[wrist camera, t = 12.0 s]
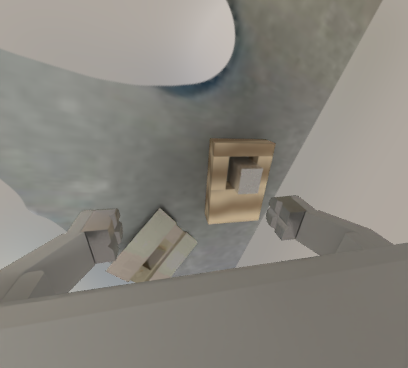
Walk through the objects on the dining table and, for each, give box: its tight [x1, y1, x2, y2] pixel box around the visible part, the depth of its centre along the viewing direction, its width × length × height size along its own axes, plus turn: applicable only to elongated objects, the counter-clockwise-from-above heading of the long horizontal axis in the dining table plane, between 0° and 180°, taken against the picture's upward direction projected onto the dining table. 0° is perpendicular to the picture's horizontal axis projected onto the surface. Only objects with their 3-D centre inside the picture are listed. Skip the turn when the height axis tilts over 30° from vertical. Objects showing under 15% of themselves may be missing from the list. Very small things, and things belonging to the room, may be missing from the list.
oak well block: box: [205, 138, 275, 224], centre depth 39 cm, size 18×12×4 cm, turn 177°
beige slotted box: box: [107, 208, 197, 283], centre depth 41 cm, size 16×9×15 cm
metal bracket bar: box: [227, 156, 263, 194], centre depth 36 cm, size 5×4×8 cm
